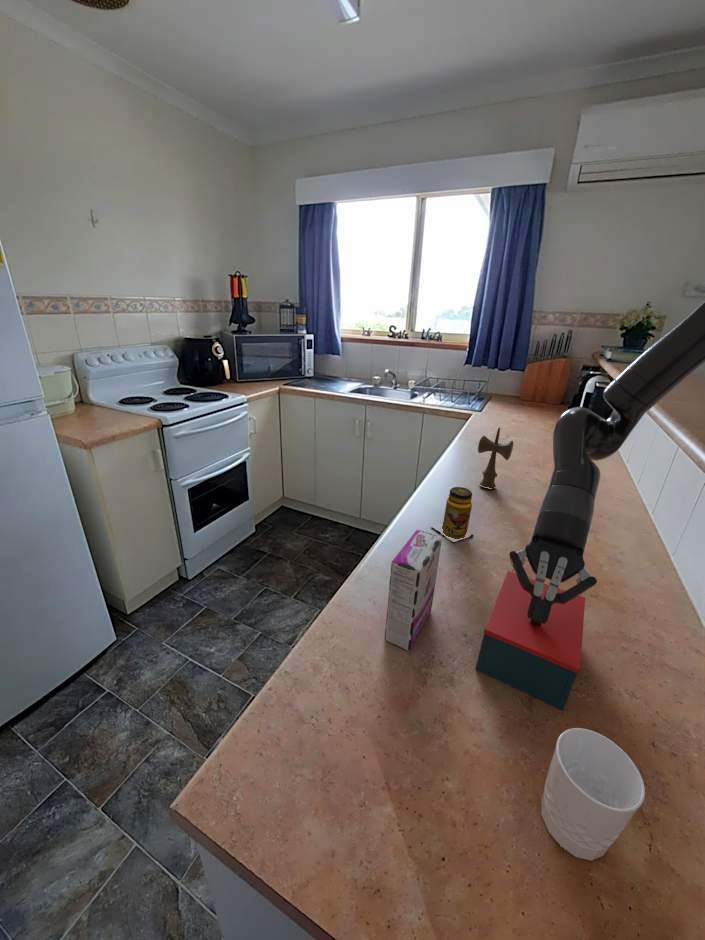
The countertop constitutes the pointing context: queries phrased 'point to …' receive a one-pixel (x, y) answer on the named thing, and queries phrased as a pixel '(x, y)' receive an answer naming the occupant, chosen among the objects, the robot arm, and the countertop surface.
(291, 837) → the countertop surface
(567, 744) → the white cup
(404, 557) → the candy bar box
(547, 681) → the box
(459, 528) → the condiment
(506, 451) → the kendama
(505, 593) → the lid
